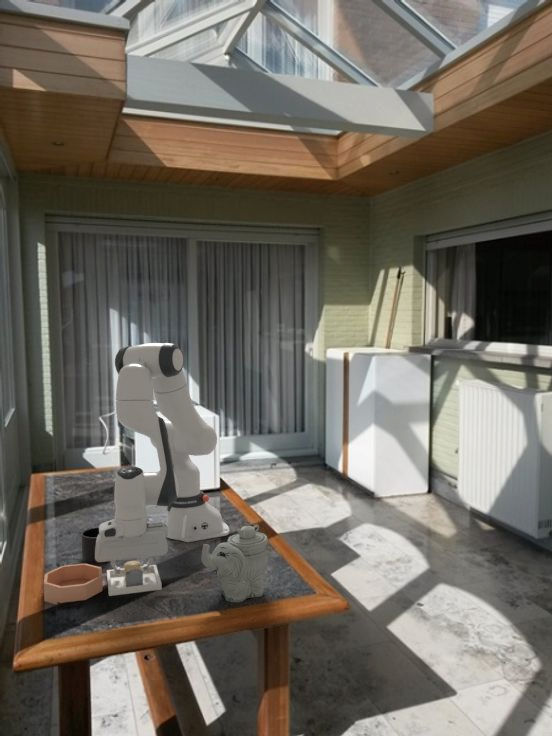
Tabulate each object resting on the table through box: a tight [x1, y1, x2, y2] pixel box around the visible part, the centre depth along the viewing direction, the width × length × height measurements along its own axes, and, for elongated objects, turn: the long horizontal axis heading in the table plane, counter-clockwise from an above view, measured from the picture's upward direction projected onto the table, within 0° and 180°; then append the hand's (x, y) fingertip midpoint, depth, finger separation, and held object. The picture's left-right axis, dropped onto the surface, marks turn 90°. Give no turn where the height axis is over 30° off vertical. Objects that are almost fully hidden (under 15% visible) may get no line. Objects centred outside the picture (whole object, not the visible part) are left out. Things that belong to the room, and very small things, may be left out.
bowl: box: [43, 563, 104, 606], centre depth 177 cm, size 15×15×5 cm
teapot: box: [200, 524, 269, 603], centre depth 175 cm, size 16×15×19 cm
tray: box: [106, 564, 163, 597], centre depth 182 cm, size 14×14×2 cm
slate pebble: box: [126, 569, 143, 587], centre depth 179 cm, size 5×5×4 cm
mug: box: [80, 527, 109, 565], centre depth 198 cm, size 9×12×9 cm
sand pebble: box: [123, 560, 142, 580], centre depth 185 cm, size 5×5×4 cm
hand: (132, 572), depth 185 cm, fingers open, 7 cm apart
